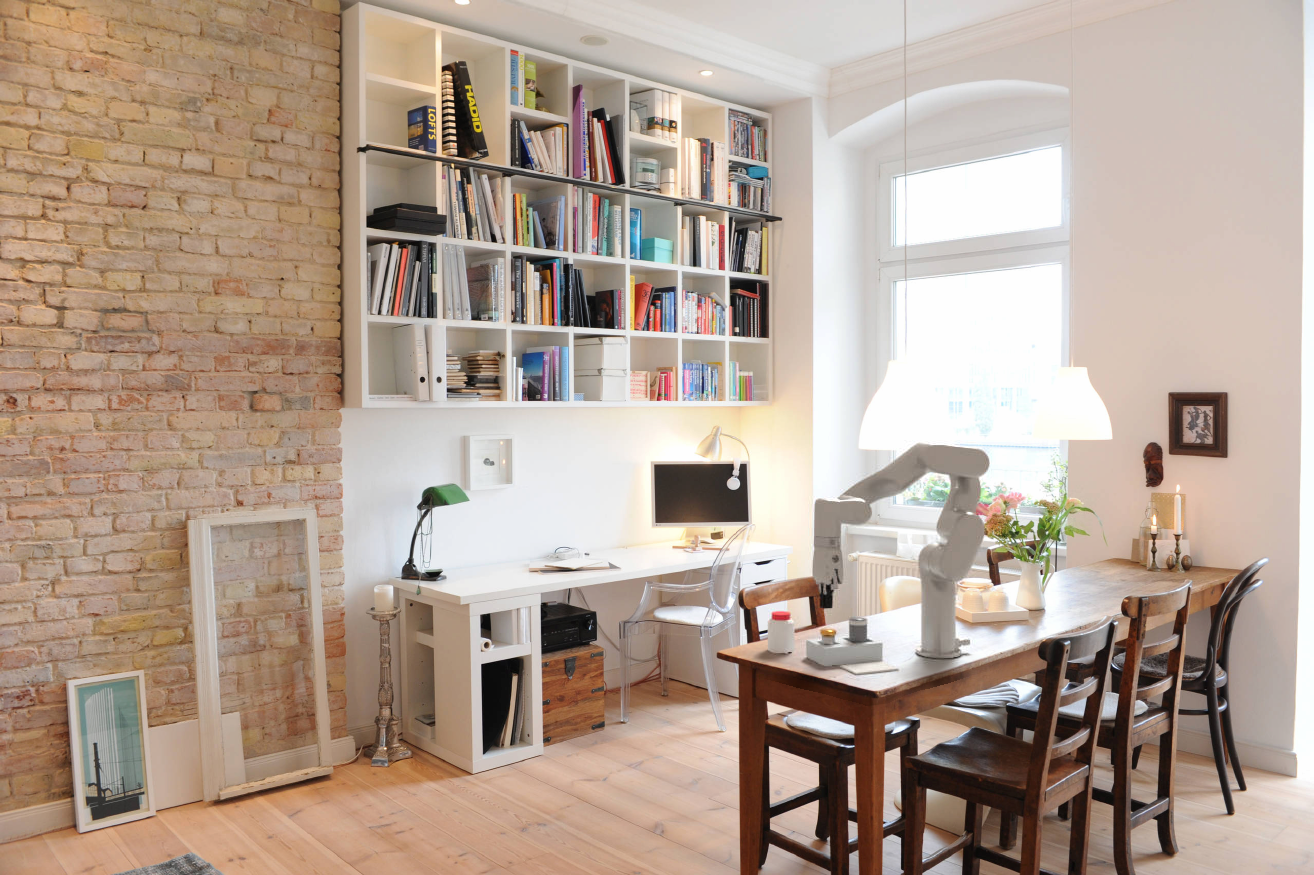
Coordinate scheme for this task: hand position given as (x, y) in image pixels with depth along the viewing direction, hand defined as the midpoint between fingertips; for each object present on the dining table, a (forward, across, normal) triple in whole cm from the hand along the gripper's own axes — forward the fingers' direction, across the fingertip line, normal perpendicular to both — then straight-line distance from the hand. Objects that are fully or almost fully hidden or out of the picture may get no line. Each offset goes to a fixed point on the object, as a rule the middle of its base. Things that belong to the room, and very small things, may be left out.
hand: (826, 607), depth 284 cm
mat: (+15, -12, -7) cm, 20 cm away
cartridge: (+15, 0, -10) cm, 18 cm away
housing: (+15, 0, -6) cm, 16 cm away
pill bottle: (+15, +15, +6) cm, 23 cm away
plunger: (+12, 0, -1) cm, 12 cm away
